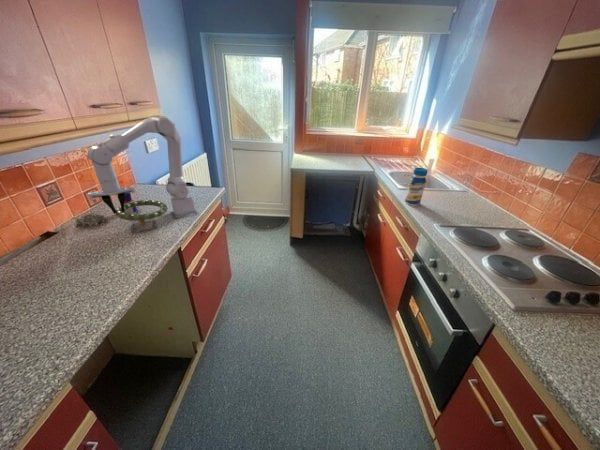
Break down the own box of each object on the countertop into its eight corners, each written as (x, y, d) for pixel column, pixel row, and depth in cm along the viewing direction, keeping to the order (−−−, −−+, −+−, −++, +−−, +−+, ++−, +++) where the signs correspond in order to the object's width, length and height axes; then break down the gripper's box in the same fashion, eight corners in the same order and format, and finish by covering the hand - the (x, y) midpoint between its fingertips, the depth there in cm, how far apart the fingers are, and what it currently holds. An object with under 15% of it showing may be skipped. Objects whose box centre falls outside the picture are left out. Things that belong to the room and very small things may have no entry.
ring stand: (153, 221, 114) (150, 210, 112) (155, 228, 108) (151, 217, 106) (132, 225, 110) (129, 214, 108) (133, 233, 105) (129, 221, 102)
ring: (164, 202, 117) (163, 197, 116) (170, 217, 103) (169, 212, 102) (116, 207, 107) (115, 201, 106) (116, 224, 94) (115, 218, 93)
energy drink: (131, 216, 118) (124, 192, 112) (122, 215, 119) (114, 191, 113) (140, 211, 123) (133, 188, 117) (131, 210, 123) (123, 187, 118)
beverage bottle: (421, 202, 145) (430, 168, 135) (418, 207, 138) (428, 172, 129) (406, 199, 149) (414, 166, 139) (402, 203, 142) (411, 169, 133)
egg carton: (74, 225, 108) (70, 217, 107) (91, 218, 115) (88, 210, 113) (93, 229, 106) (89, 221, 104) (109, 222, 112) (106, 214, 110)
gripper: (82, 185, 88) (96, 219, 94) (130, 179, 95) (140, 211, 101) (84, 179, 93) (97, 212, 99) (130, 174, 100) (139, 205, 106)
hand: (119, 211), depth 101 cm, fingers closed on ring, 2 cm apart
